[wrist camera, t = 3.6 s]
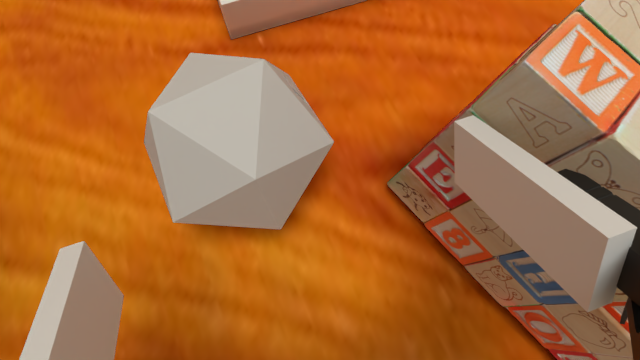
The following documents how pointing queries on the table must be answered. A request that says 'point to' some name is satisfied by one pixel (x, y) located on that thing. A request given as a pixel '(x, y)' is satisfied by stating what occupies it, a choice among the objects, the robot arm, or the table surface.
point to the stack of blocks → (557, 153)
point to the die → (233, 142)
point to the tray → (272, 13)
